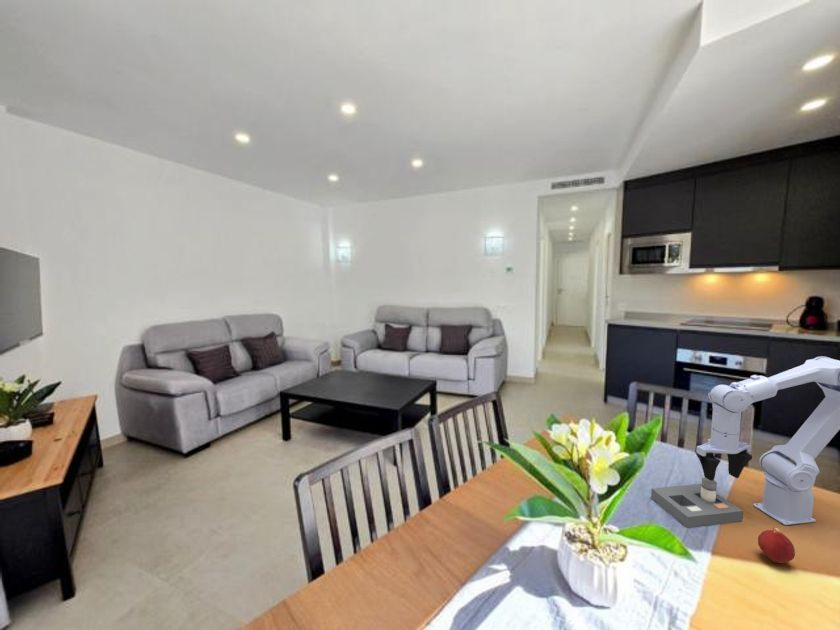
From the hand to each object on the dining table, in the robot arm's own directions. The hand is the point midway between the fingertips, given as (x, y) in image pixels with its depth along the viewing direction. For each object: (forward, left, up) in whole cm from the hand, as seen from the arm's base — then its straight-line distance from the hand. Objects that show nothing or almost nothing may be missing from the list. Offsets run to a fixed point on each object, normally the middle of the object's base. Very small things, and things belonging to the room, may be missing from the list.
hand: (721, 477), depth 95 cm
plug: (+3, -1, -9) cm, 10 cm away
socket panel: (+7, -1, -9) cm, 11 cm away
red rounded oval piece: (+4, +17, -10) cm, 20 cm away
